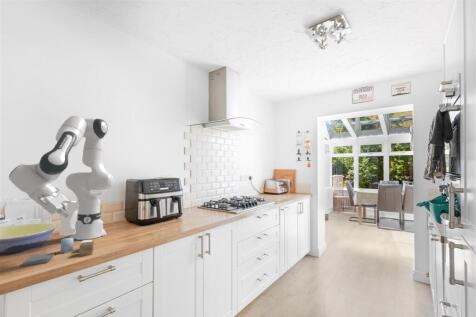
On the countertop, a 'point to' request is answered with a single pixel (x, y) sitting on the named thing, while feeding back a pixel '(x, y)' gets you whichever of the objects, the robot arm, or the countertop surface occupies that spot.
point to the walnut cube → (86, 248)
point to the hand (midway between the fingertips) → (70, 214)
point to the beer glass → (69, 218)
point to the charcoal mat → (38, 259)
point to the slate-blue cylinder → (67, 245)
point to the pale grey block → (86, 241)
